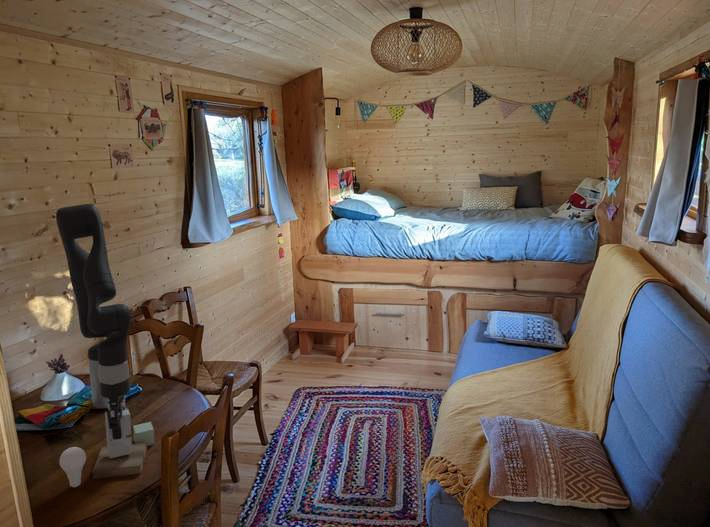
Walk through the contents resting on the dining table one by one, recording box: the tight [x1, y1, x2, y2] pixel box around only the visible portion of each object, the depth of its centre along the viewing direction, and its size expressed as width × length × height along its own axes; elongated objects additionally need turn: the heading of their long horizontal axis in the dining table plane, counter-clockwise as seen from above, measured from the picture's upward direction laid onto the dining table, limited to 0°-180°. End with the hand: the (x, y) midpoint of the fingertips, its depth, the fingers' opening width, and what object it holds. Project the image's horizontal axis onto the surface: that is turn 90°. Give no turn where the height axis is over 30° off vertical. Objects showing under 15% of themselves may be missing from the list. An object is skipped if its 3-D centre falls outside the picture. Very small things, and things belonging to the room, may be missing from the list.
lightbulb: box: [58, 446, 87, 488], centre depth 139 cm, size 6×6×11 cm
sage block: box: [132, 421, 155, 447], centre depth 161 cm, size 5×5×5 cm
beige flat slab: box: [92, 442, 148, 480], centre depth 151 cm, size 12×12×3 cm
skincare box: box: [104, 407, 133, 458], centre depth 149 cm, size 6×4×12 cm
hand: (118, 433), depth 149 cm, fingers closed on skincare box, 5 cm apart
